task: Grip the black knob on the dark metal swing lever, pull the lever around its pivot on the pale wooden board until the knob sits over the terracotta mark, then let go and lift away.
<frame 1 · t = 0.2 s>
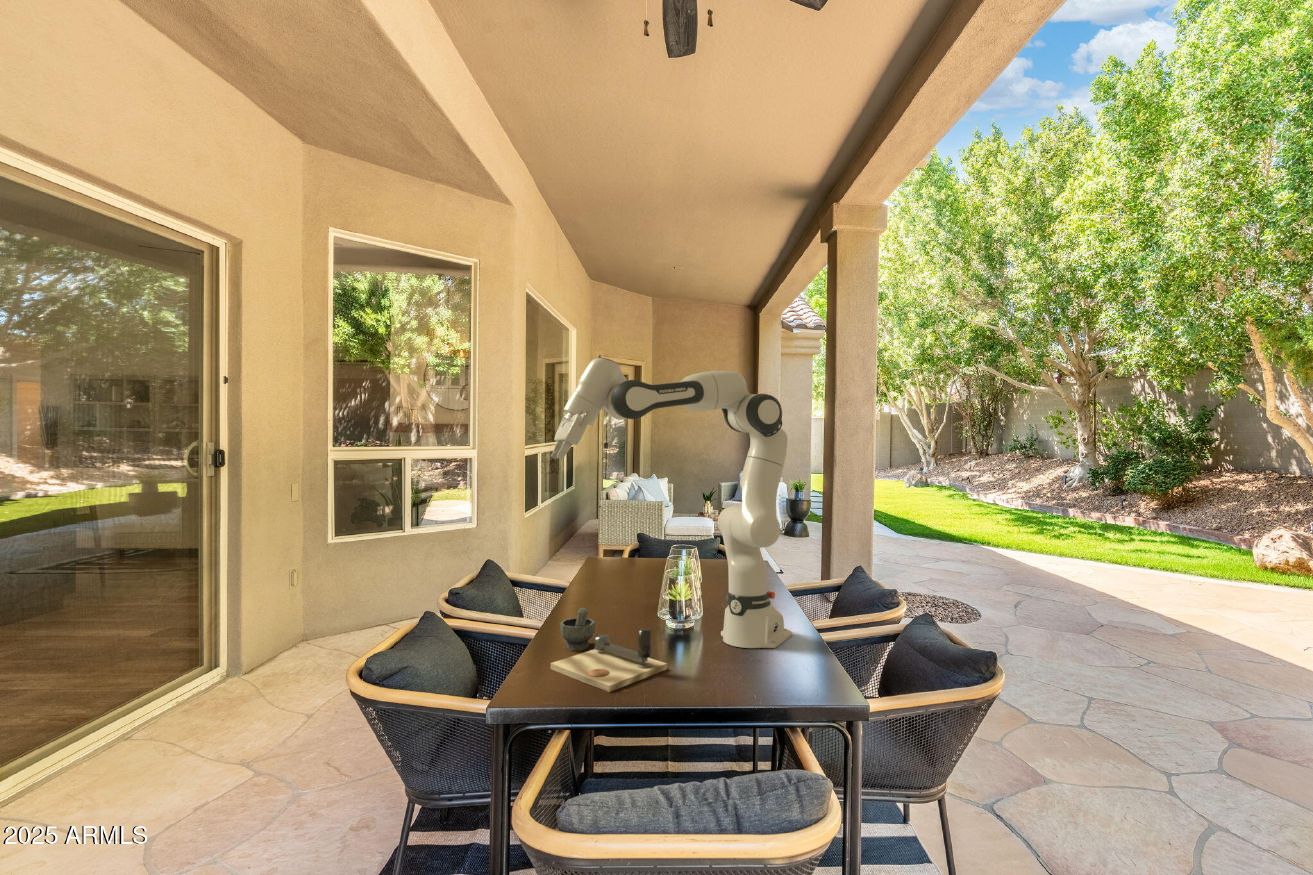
hand: (556, 458, 167), 54 cm above the table, tool tilted 30°, fingers open, 8 cm apart
mortar and pestle: (578, 648, 179), on the table
lever: (622, 639, 166), point 6 cm above the table, hinge at 0.0°
lever board: (608, 669, 162), on the table
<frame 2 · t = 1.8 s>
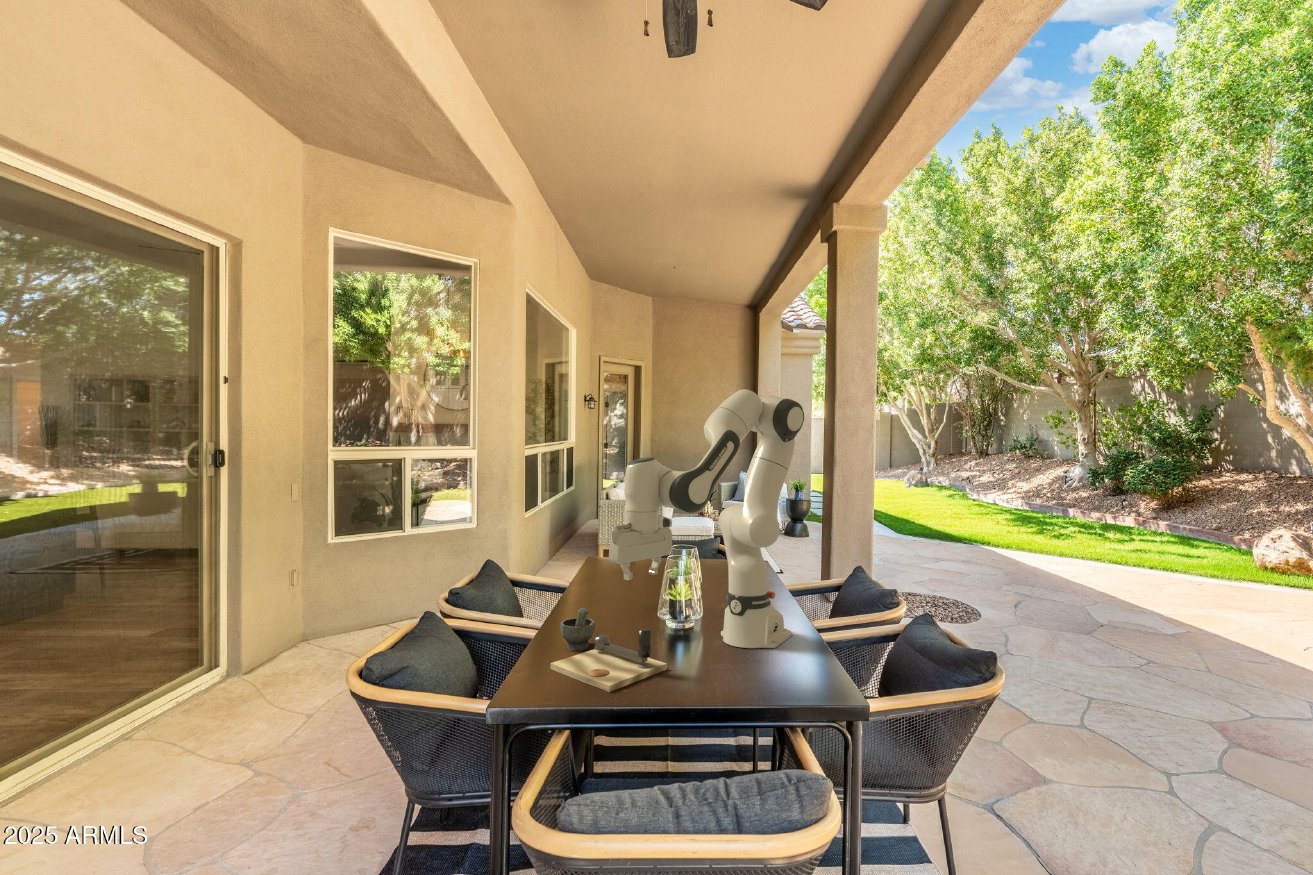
hand: (641, 576, 160), 24 cm above the table, tool pointing down, fingers open, 8 cm apart
nothing on the table moved.
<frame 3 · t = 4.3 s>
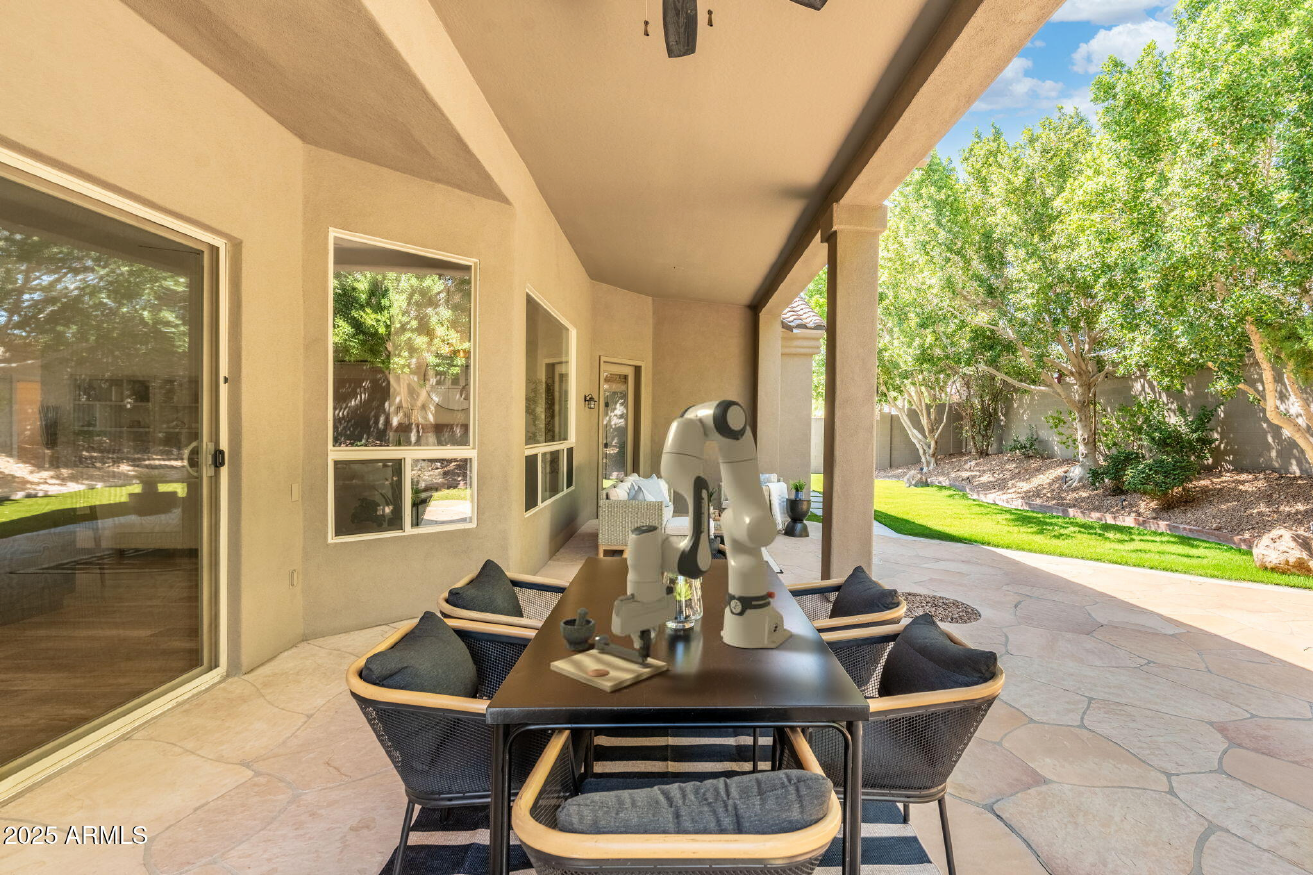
hand: (644, 645, 160), 7 cm above the table, tool pointing down, fingers closed on lever, 3 cm apart
lever: (622, 639, 166), point 6 cm above the table, hinge at 0.0°, touching gripper
everything else where it was.
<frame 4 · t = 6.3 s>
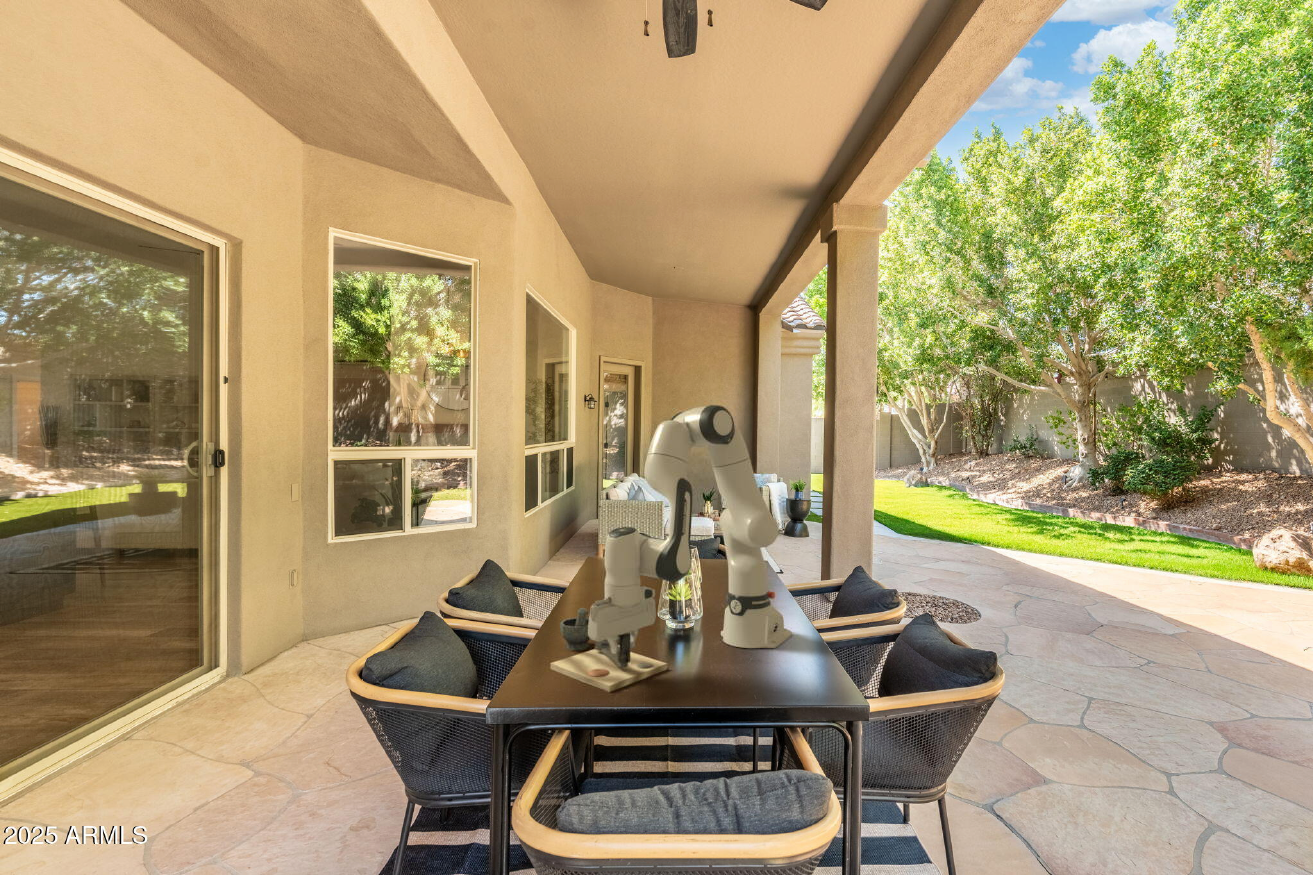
hand: (622, 650, 157), 7 cm above the table, tool pointing down, fingers open, 4 cm apart
lever: (612, 641, 164), point 7 cm above the table, hinge at -22.6°, touching gripper
everything else where it was.
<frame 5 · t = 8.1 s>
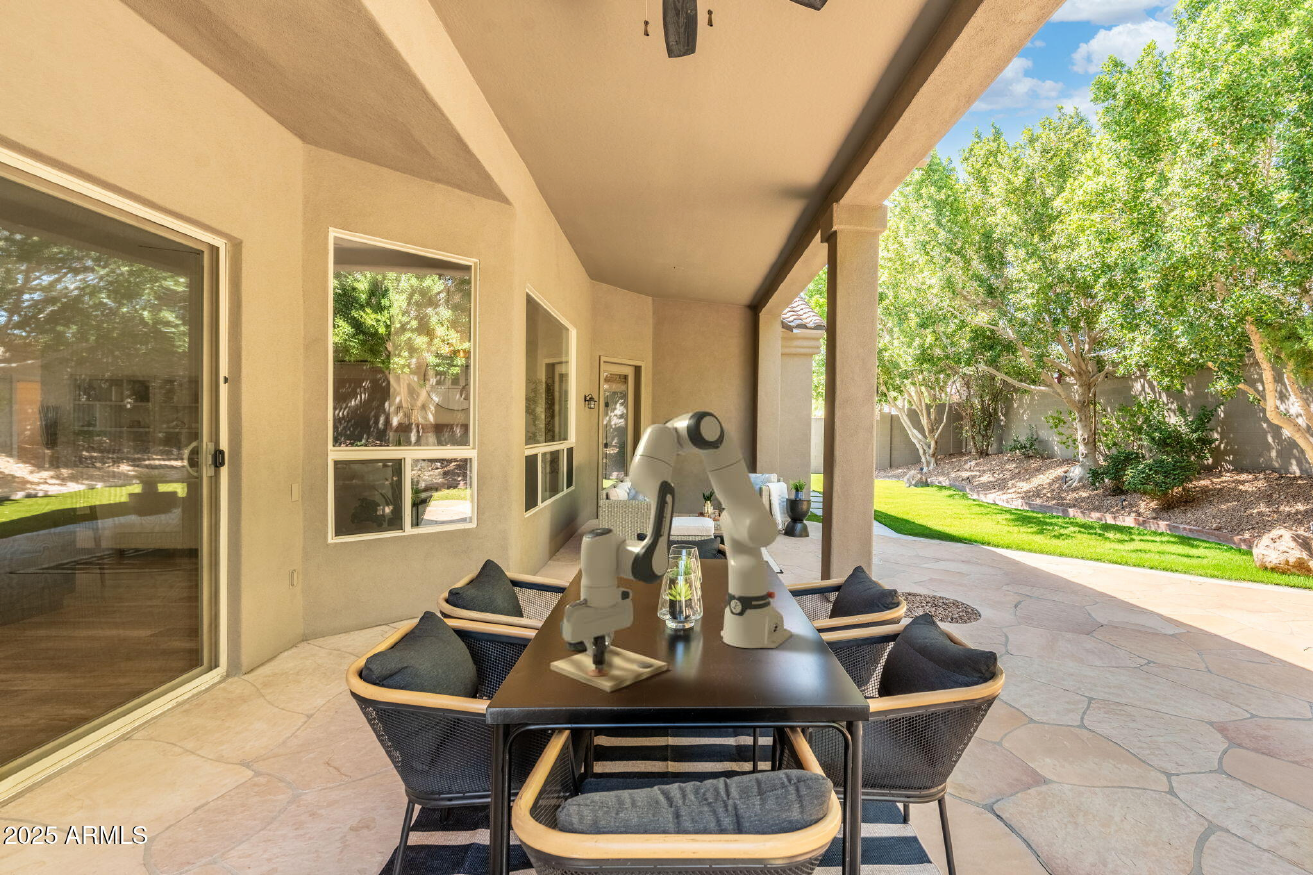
hand: (599, 652, 155), 7 cm above the table, tool pointing down, fingers closed on lever, 3 cm apart
lever: (600, 642, 163), point 6 cm above the table, hinge at -44.8°, touching gripper
everything else where it was.
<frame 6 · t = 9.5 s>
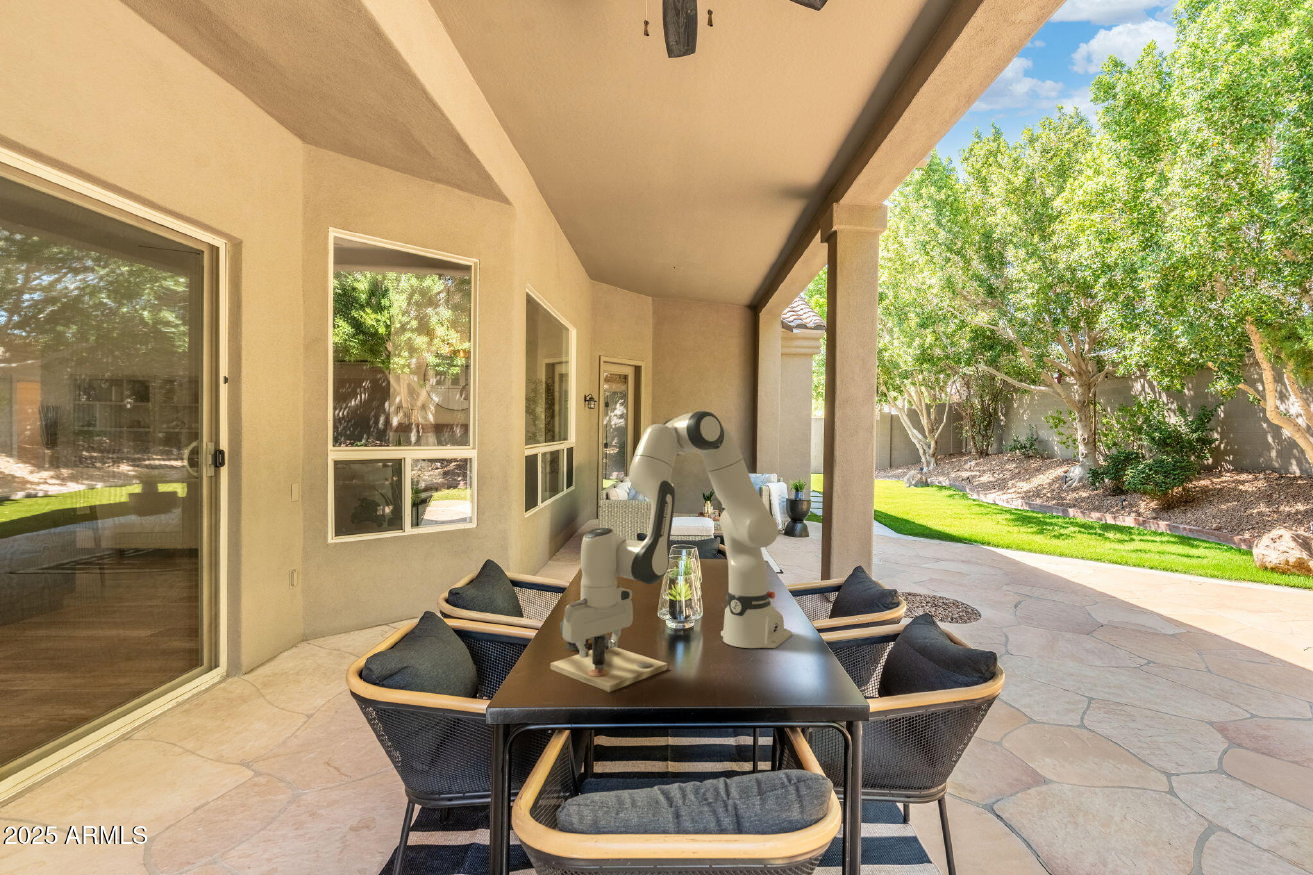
hand: (598, 652, 155), 7 cm above the table, tool pointing down, fingers open, 8 cm apart
lever: (600, 642, 163), point 7 cm above the table, hinge at -44.9°
everything else where it was.
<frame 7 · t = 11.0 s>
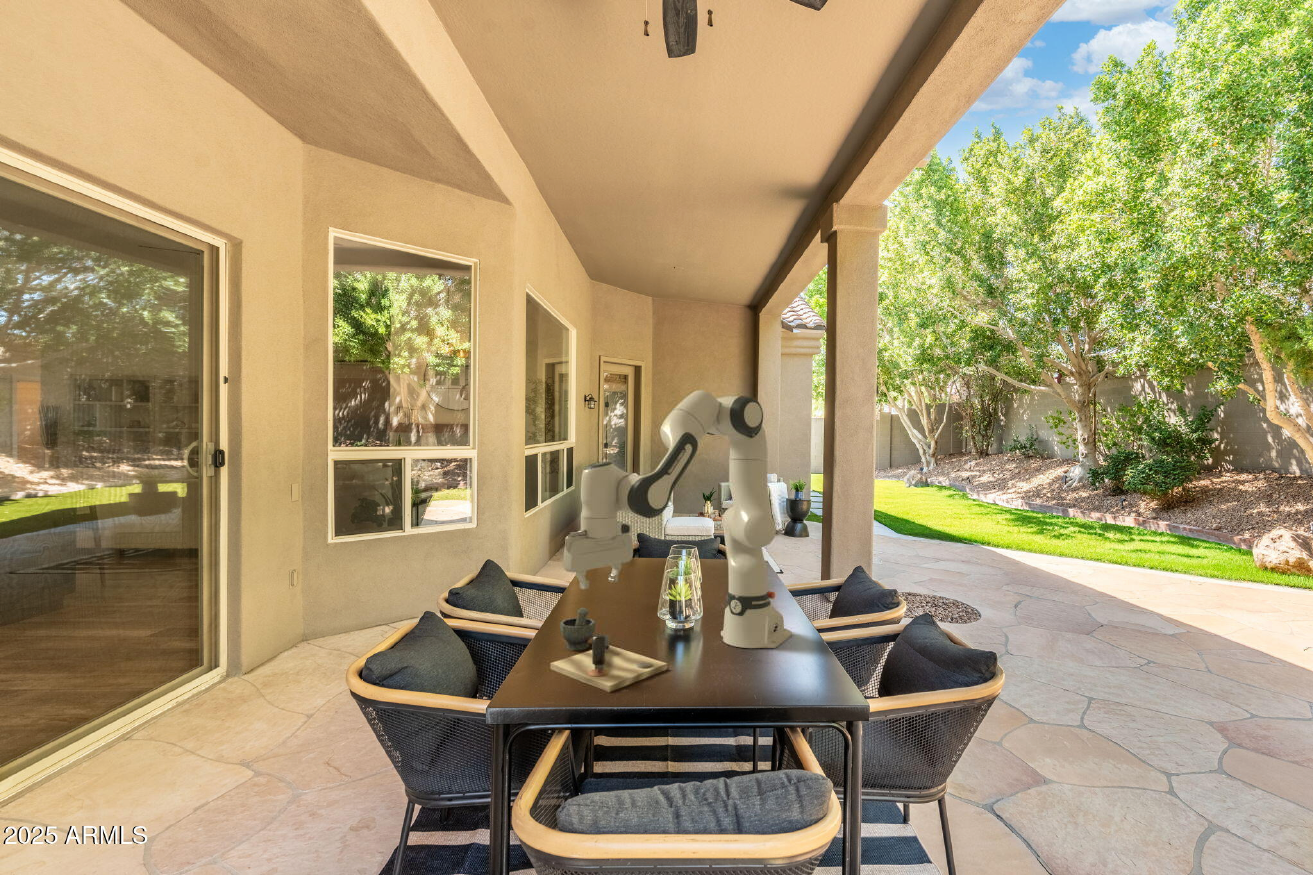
hand: (599, 585, 155), 23 cm above the table, tool pointing down, fingers open, 8 cm apart
nothing on the table moved.
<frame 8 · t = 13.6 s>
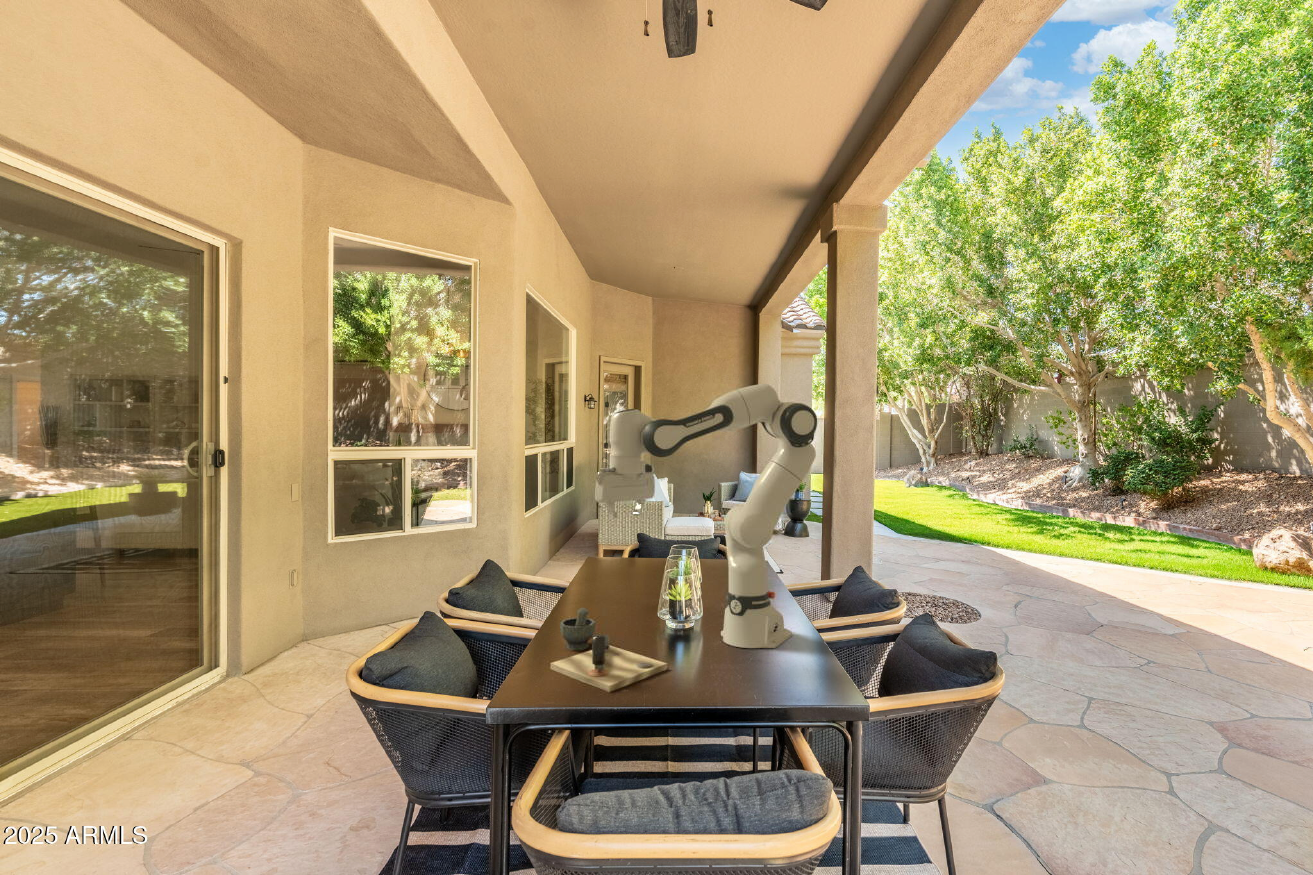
hand: (625, 517, 176), 37 cm above the table, tool pointing down, fingers open, 8 cm apart
nothing on the table moved.
at the end: lever at -45° (first picture: +0°); the gripper is holding nothing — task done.
